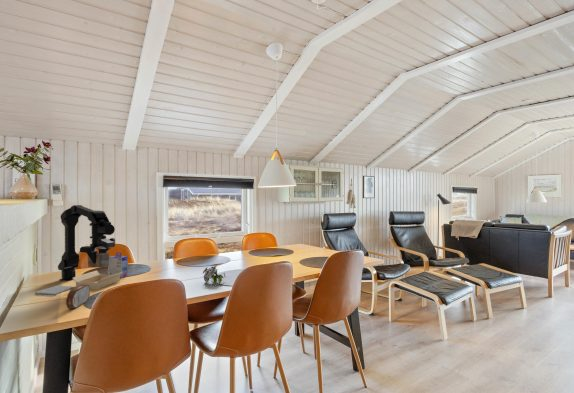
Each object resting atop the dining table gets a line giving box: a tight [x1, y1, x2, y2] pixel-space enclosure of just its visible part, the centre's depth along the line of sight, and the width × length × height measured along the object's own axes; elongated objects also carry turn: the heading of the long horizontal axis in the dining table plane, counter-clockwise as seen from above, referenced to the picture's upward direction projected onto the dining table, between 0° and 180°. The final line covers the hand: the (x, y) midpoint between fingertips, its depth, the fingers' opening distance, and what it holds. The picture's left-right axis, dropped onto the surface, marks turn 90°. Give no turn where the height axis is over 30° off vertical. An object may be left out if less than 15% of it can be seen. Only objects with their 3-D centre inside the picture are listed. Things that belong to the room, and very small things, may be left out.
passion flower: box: [202, 264, 226, 286], centre depth 177 cm, size 11×11×12 cm
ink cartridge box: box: [107, 252, 129, 279], centre depth 191 cm, size 10×6×14 cm, turn 78°
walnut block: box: [87, 252, 110, 269], centre depth 176 cm, size 9×5×7 cm, turn 78°
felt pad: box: [34, 285, 76, 297], centre depth 165 cm, size 12×12×1 cm
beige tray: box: [72, 270, 123, 290], centre depth 176 cm, size 18×16×6 cm
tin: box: [65, 284, 91, 309], centre depth 144 cm, size 15×3×8 cm, turn 5°
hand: (98, 262), depth 176 cm, fingers closed on walnut block, 5 cm apart
